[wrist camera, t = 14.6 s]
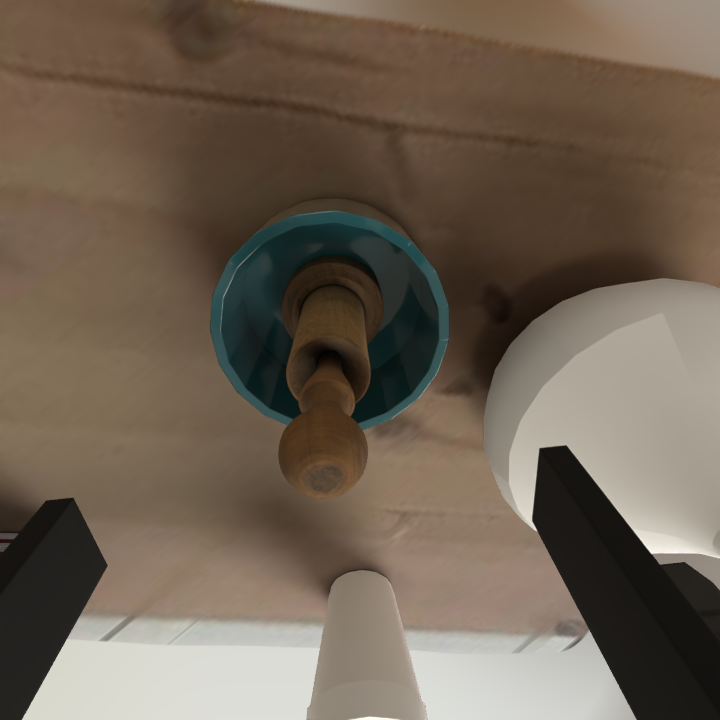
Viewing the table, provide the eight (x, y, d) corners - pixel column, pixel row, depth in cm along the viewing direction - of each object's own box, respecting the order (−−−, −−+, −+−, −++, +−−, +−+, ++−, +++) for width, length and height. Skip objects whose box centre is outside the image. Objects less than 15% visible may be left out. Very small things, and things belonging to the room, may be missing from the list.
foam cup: (420, 605, 45) (447, 763, 34) (339, 631, 47) (338, 791, 35) (385, 547, 41) (401, 703, 30) (298, 577, 43) (281, 737, 31)
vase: (620, 482, 39) (842, 744, 22) (427, 443, 36) (504, 708, 19) (747, 289, 31) (1242, 456, 14) (515, 223, 29) (772, 330, 12)
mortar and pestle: (355, 236, 28) (373, 352, 12) (396, 320, 31) (457, 510, 14) (266, 281, 29) (171, 446, 13) (314, 359, 32) (284, 577, 15)
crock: (259, 388, 33) (239, 443, 27) (218, 209, 28) (181, 226, 21) (429, 371, 33) (449, 422, 27) (423, 187, 28) (448, 198, 21)
